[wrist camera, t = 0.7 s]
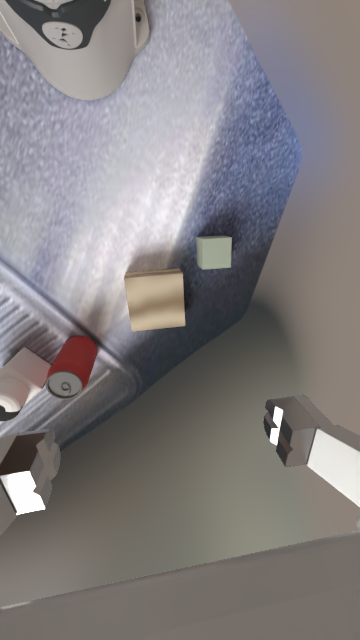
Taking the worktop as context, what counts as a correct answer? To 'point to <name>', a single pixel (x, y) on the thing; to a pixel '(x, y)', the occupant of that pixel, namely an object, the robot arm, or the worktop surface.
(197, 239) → the sage block
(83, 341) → the beer can
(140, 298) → the birch block
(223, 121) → the worktop surface
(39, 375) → the medicine bottle
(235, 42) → the worktop surface
